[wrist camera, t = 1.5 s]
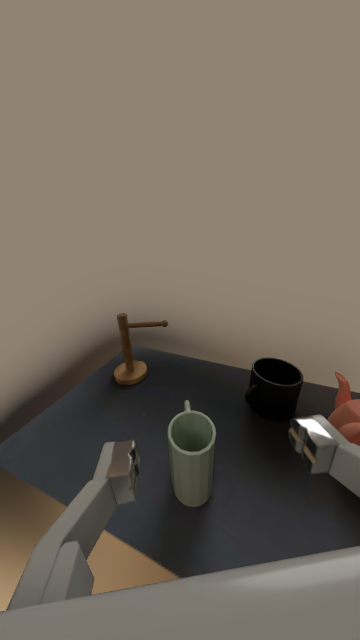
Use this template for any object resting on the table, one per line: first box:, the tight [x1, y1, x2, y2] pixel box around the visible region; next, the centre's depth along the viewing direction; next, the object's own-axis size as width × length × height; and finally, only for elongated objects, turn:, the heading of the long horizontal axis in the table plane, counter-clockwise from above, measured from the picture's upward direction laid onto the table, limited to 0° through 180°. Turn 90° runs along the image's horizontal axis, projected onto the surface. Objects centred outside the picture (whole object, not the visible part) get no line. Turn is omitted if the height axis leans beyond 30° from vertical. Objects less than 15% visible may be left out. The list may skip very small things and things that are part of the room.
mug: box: [245, 358, 303, 421], centre depth 39 cm, size 9×12×9 cm
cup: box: [168, 400, 216, 507], centre depth 28 cm, size 10×6×11 cm, turn 4°
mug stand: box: [114, 313, 168, 385], centre depth 50 cm, size 16×9×18 cm, turn 94°
